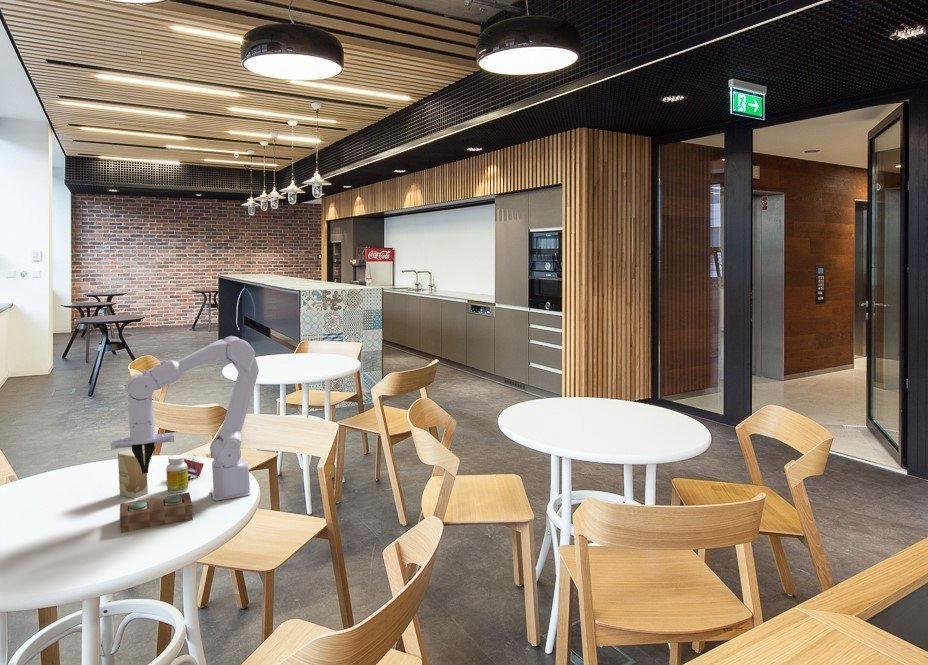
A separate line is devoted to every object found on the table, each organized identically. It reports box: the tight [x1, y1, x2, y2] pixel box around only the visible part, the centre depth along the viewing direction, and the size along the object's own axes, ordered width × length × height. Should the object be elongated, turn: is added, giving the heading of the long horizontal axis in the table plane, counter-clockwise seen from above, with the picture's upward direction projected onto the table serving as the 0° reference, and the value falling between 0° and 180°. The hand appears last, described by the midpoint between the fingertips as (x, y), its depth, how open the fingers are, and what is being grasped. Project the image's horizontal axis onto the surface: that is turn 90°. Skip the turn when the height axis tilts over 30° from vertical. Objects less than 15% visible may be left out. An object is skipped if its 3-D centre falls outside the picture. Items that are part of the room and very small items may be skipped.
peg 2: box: [165, 496, 182, 506], centre depth 158 cm, size 4×4×4 cm
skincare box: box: [117, 448, 149, 499], centre depth 171 cm, size 6×4×12 cm
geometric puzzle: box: [184, 455, 205, 478], centre depth 185 cm, size 7×7×8 cm
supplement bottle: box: [165, 454, 189, 494], centre depth 175 cm, size 5×5×10 cm
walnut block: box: [119, 491, 194, 533], centre depth 156 cm, size 16×9×4 cm, turn 118°
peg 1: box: [129, 502, 147, 512], centre depth 154 cm, size 4×4×4 cm
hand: (145, 472), depth 160 cm, fingers closed
